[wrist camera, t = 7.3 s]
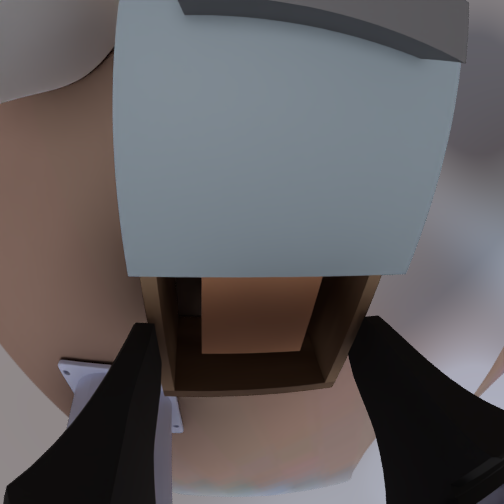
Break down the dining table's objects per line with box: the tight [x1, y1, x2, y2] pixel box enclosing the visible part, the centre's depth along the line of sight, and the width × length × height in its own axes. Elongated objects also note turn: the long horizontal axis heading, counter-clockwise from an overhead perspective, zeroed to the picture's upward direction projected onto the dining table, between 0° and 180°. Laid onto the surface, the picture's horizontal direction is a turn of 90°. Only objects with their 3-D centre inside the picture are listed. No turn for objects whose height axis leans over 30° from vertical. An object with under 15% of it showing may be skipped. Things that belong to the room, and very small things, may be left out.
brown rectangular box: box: [140, 275, 382, 397], centre depth 11 cm, size 14×8×5 cm, turn 175°
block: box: [201, 276, 323, 354], centre depth 13 cm, size 4×4×4 cm
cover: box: [113, 0, 469, 277], centre depth 5 cm, size 7×8×2 cm
